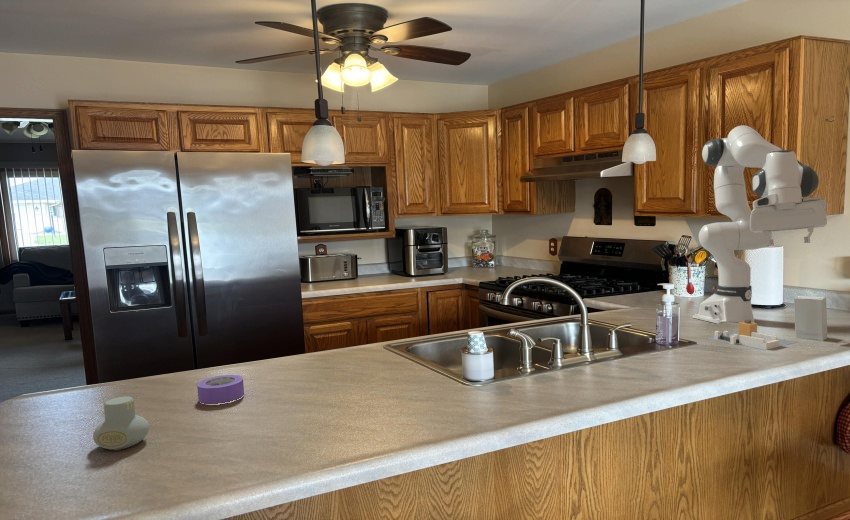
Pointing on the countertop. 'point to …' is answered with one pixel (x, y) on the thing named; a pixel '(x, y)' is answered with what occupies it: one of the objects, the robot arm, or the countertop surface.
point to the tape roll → (220, 389)
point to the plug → (747, 328)
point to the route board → (750, 340)
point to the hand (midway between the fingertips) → (788, 244)
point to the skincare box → (810, 317)
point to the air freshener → (120, 425)
